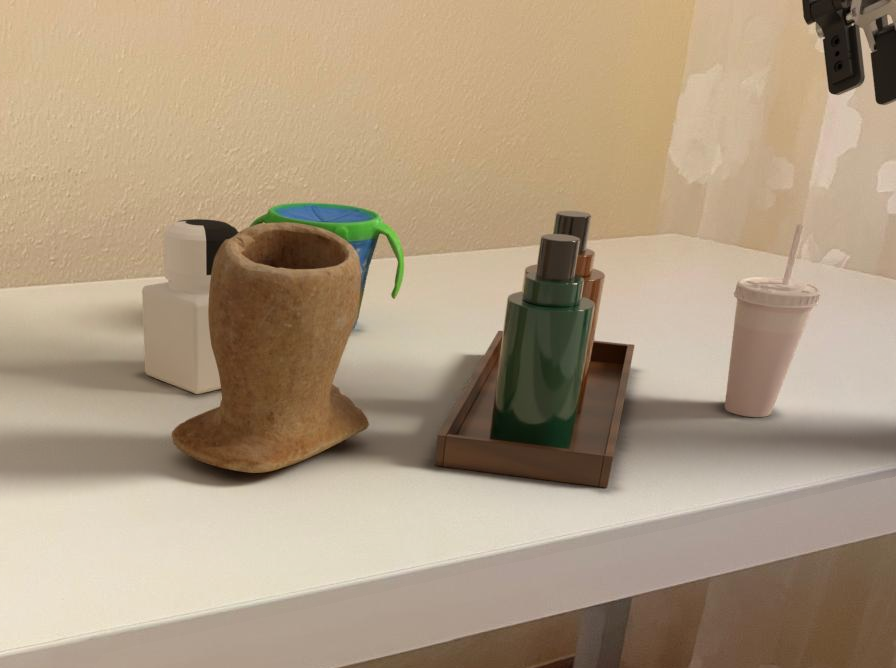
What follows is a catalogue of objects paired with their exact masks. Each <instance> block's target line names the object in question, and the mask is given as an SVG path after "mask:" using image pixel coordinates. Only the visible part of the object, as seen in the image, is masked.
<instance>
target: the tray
mask: <svg viewBox="0 0 896 668" xmlns="http://www.w3.org/2000/svg"><path fill="white" fill-rule="evenodd" d="M502 336H503V330H498V331H497V332H496V334H495V336H494V337H493V340H492V341H491V343H490V345H489V346H488V347H487V350H486V352H484V355H483V356H482V358H481V360H480V362H479V363H478V365H477V367H476V368H475V369H474V372H473V374H472V376H471V377H470V379H469V381H468V382H467V384H466V386H465V387H464V390H463V391H462V393H461V394H460V396H459V398H458V399H457V402H456V403H455V405H454V406H453V408H452V410H451V411H450V413H449V415H448V417H447V418H446V420H445V422H444V424H443V426H441V429H440V431H439V432H438V434H437V438H436V447H435V455H434V466H436V467H445V468H452V469H458V470H467V471H474V472H481V473H482V472H483V473H489V474H490V473H491V474H496V475H497V474H498V475H506V476H513V477H522V478H528V479H529V478H530V479H536V480H537V479H538V480H544V481H551V482H560V483H567V484H576V485H581V486H582V485H583V486H589V487H591V486H592V487H599V488H605V489H607V488H608V486H609V481H610V477H611V470H612V466H613V460H614V455H615V449H616V444H617V440H618V435H619V429H620V424H621V420H622V419H621V418H622V413H623V408H624V404H625V403H624V402H625V398H626V393H627V387H628V382H629V377H630V372H631V366H632V360H633V356H634V351H635V344H630V343H622V342H621V343H619V342H612V341H602V340H594V343H593V349H592V354H591V360H590V366H589V372H588V378H587V383H586V389H585V395H584V401H583V407H582V410H581V411H580V412H578V413H577V415H576V421H575V426H574V432H573V438H572V444H571V449H565V448H557V447H549V446H541V445H532V444H524V443H516V442H508V441H500V440H492V439H489V437H490V429H491V421H492V414H493V406H494V398H495V390H496V383H497V375H498V367H499V359H500V352H501V344H502Z"/></svg>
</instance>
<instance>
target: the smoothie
mask: <svg viewBox="0 0 896 668" xmlns="http://www.w3.org/2000/svg"><path fill="white" fill-rule="evenodd" d="M804 230H805V224H796V228H795V231H794V235H793V240H792V243H791V248H790V251H789V256H788V260H787V264H786V267H785V271H784V275H783V278H781V277H773V276H771V277H770V276H753V277H751V276H750V277H745V278H742V279H739V280H738V281H737V282H736V286H735V291H734V292H733V296H734V298H736V306H735V314H734V322H733V323H734V324H733V331H732V339H731V348H730V356H729V357H730V358H729V365H728V366H729V367H728V375H727V383H726V393H725V401H724V409H725V410H726V412H728V413H731V414H734V415H737V416H742V417H747V418H748V417H749V418H764V417H768V416H770V415H771V414H772V412H773V409H774V407H775V404H776V402H777V398H778V396H779V394H780V391H781V389H782V386H783V384H784V381H785V379H786V376H787V374H788V371H789V369H790V366H791V364H792V362H793V358H794V356H795V354H796V351H797V348H798V346H799V343H800V341H801V339H802V336H803V333H804V330H805V329H806V326H807V324H808V320H809V318H810V315H811V313H812V310H813V308H814V307H816V306H818V305H819V304H820V302H819V300H820V296H821V293H822V290H821V289H820V288H819V287H818V286H816V285H814V284H811V283H808V282H805V281H800V280H795V279H792V278H793V272H794V269H795V265H796V262H797V258H798V253H799V250H800V246H801V242H802V238H803V234H804Z"/></svg>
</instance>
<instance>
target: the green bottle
mask: <svg viewBox="0 0 896 668" xmlns="http://www.w3.org/2000/svg"><path fill="white" fill-rule="evenodd" d="M579 244H580V239H579V238H578V237H575V236H571V235H564V234H553V233H547V234H543V235H541V236H540V239H539V247H538V248H539V249H538V256H537V263H536V264H537V269H536V272H531V273H528V274H526V275H525V280H524V279H523V280H524V288H523V292H522V291H517V292H514V293H511V294H509V295H508V296H507V298H506V306H505V314H504V322H503V330H502V331H503V336H502V344H501V352H500V359H499V367H498V375H497V383H496V390H495V398H494V406H493V414H492V421H491V429H490V437H489V439H492V440H500V441H508V442H516V443H524V444H532V445H541V446H549V447H557V448H565V449H571V444H572V438H573V432H574V426H575V421H576V415H577V409H578V403H579V397H580V391H581V385H582V379H583V373H584V368H585V362H586V356H587V350H588V344H589V338H590V332H591V326H592V321H593V315H594V309H595V303H594V302H593V301H592V300H590V299H588V298H585V297H582V291H583V285H584V279H583V278H582V277H580V276H577V275H575V269H576V263H577V256H578V250H579Z"/></svg>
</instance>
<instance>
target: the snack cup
mask: <svg viewBox="0 0 896 668" xmlns="http://www.w3.org/2000/svg"><path fill="white" fill-rule="evenodd" d="M285 222H290V223H299V224H305V225H309V226H314V227H319V228H322V229H325V230H328V231H330V232H332V233H334V234H336V235H338V236H340V237H341V238H343V239H345V240H346V241H347V242H348V243H349V244H351V245H352V246H353V247H354V249H355V251H356V252H357V254H358V255H359V260H360V266H361V285H360V298H359V309H358V313H357V317H356V321H355V324H354V327H353V329H356V326H357V324H358V321H359V318H360V313H361V307H362V303H363V298H364V294H365V288H366V284H367V279H368V274H369V271H370V265H371V263H372V259H373V256H374V253H375V249H376V246H377V243H378V240H379V237H380V235H384V236H385V237H386V238H387V239H386V240H387V241H388V243H389V245H390V247H391V249H392V252H393V254H394V256H395V258H396V261H397V265H396V272H395V277H394V287H393V289H392V292H391V293H390V296H391V298H392V300H393V299H394V300H395V299H396V297H397V296H398V294H399V292H400V290H401V286H402V283H403V280H404V274H405V257H404V251H403V246H402V243H401V240H400V239H399V236H398V235H397V233H396V231H395V230H394V229H393V228H392V227H391V226H389V225H388V224H386V223H385V222H384V221H383V220H382V218H381V215H380V214H379V213H377V212H375V211H373V210H370V209H367V208H363V207H358V206H352V205H348V204H347V205H346V204H338V203H337V204H336V203H324V202H294V203H293V202H292V203H291V202H290V203H282V204H277V205H274V206H272V207H270V208H269V209H268V211H267V213H265V214H262V215H260V216H259V217H257V218H256V219H255V220H253V221H252V222H251V224H250V225H249V226H248V227H251V226H254V225H257V224H260V223H285Z"/></svg>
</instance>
